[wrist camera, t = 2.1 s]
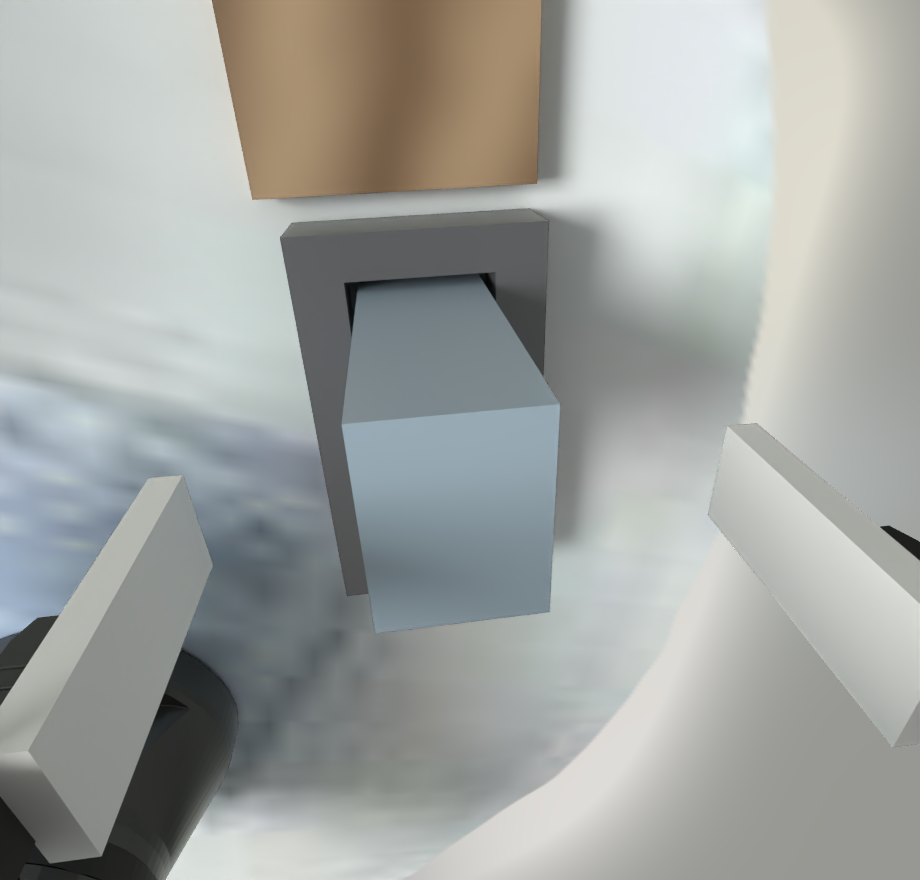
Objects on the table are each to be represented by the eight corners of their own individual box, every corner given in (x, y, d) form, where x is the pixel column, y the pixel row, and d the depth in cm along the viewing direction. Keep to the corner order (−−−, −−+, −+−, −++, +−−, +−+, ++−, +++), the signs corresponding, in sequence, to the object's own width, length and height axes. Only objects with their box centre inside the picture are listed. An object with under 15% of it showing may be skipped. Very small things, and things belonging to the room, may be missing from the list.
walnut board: (258, 195, 21) (252, 199, 20) (181, -196, 16) (167, -218, 15) (529, 180, 22) (537, 183, 21) (536, -195, 17) (546, -215, 16)
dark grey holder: (349, 553, 29) (346, 608, 26) (291, 222, 21) (276, 242, 18) (522, 534, 30) (540, 585, 27) (528, 208, 22) (555, 224, 19)
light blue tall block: (376, 417, 25) (374, 633, 15) (358, 278, 22) (341, 424, 12) (479, 408, 25) (549, 611, 15) (475, 269, 22) (560, 403, 12)
